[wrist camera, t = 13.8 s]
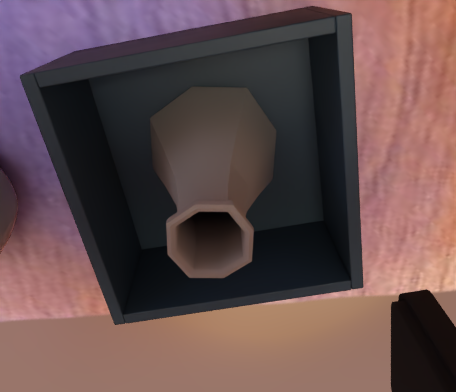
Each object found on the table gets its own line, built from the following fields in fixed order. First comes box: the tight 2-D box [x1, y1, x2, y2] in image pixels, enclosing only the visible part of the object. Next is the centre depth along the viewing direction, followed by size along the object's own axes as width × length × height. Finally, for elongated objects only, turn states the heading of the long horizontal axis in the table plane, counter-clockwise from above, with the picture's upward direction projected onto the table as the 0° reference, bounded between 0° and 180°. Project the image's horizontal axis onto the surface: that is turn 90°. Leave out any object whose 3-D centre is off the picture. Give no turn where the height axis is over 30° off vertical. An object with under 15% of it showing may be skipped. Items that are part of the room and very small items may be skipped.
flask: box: [150, 87, 276, 278], centre depth 19 cm, size 7×7×10 cm
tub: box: [20, 6, 363, 325], centre depth 22 cm, size 13×13×7 cm
